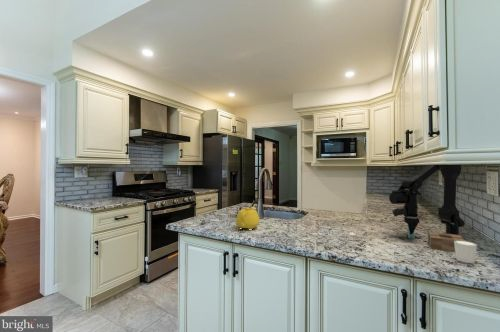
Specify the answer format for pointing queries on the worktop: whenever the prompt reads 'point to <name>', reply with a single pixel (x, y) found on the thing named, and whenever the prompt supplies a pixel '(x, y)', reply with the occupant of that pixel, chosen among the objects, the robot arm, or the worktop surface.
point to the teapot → (247, 218)
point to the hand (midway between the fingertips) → (411, 233)
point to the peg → (411, 236)
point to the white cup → (465, 251)
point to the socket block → (443, 241)
